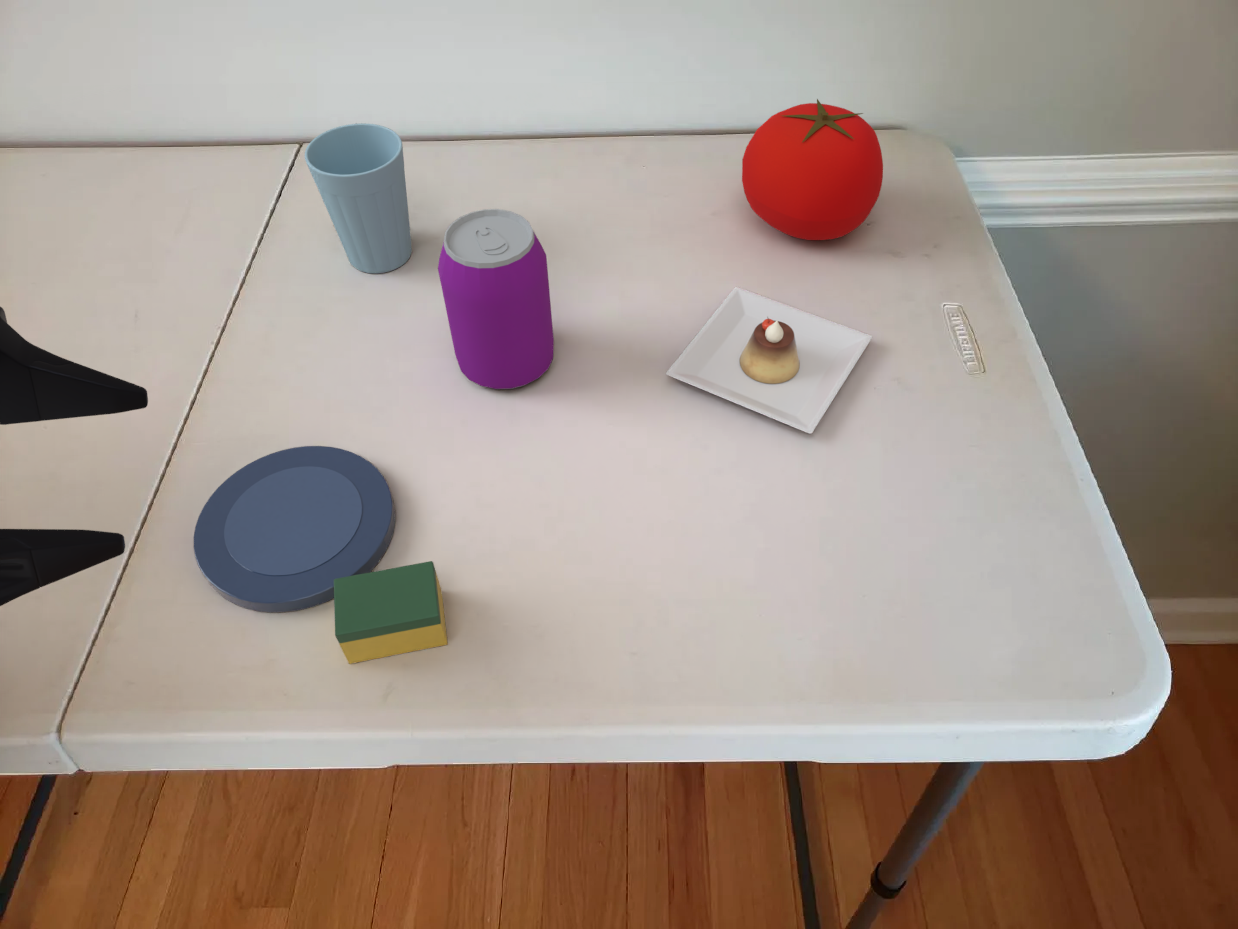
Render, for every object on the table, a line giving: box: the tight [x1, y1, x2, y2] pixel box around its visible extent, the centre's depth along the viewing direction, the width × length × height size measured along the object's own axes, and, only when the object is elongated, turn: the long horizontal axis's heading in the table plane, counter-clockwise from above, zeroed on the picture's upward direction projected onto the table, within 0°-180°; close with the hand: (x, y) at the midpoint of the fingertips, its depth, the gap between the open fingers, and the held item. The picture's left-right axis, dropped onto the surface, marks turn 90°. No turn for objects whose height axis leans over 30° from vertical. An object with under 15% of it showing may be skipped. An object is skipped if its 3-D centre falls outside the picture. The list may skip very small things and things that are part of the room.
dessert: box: [665, 286, 873, 434], centre depth 70 cm, size 12×12×5 cm
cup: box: [304, 122, 413, 274], centre depth 77 cm, size 8×8×10 cm
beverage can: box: [437, 208, 555, 390], centre depth 68 cm, size 8×8×12 cm
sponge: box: [333, 560, 449, 665], centre depth 56 cm, size 6×4×4 cm, turn 102°
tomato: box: [741, 98, 884, 241], centre depth 80 cm, size 12×12×10 cm
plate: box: [193, 445, 396, 613], centre depth 62 cm, size 13×13×1 cm
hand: (136, 466), depth 44 cm, fingers open, 9 cm apart
